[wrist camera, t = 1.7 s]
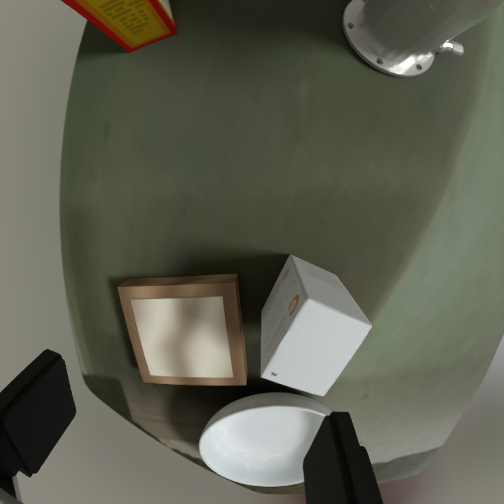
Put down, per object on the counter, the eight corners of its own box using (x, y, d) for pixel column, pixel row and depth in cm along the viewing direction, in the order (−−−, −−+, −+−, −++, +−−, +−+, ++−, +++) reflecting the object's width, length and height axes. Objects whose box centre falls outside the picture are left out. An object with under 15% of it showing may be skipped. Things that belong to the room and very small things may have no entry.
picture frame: (237, 273, 34) (234, 283, 31) (247, 371, 38) (246, 386, 35) (127, 278, 35) (116, 287, 32) (150, 369, 39) (143, 382, 35)
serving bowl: (192, 440, 42) (184, 470, 36) (230, 354, 37) (224, 387, 31) (302, 465, 44) (305, 494, 37) (363, 390, 38) (376, 421, 32)
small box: (306, 330, 36) (323, 399, 23) (260, 311, 35) (257, 378, 23) (337, 274, 34) (374, 326, 21) (290, 252, 34) (305, 297, 21)
